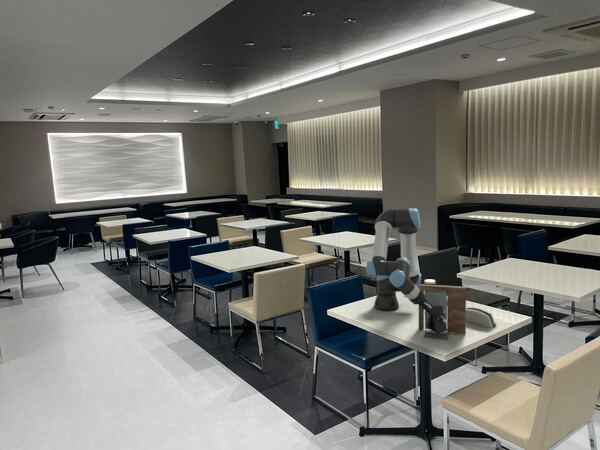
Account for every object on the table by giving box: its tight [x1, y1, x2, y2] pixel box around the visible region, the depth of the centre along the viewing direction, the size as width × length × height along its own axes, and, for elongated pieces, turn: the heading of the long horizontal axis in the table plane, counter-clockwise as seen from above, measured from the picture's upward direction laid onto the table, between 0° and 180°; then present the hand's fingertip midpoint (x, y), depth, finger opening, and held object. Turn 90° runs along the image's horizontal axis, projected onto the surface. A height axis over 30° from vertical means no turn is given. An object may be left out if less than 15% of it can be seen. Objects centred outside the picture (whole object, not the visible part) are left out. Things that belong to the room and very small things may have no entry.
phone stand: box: [426, 306, 447, 333], centre depth 228 cm, size 9×6×12 cm, turn 25°
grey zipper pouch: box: [466, 306, 498, 329], centre depth 245 cm, size 17×5×10 cm, turn 36°
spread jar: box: [423, 278, 437, 299], centre depth 292 cm, size 12×11×12 cm
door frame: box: [418, 283, 467, 335], centre depth 234 cm, size 2×24×24 cm, turn 70°
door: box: [424, 290, 447, 330], centre depth 234 cm, size 11×3×21 cm, turn 70°
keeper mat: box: [423, 330, 450, 341], centre depth 229 cm, size 9×12×1 cm
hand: (443, 322), depth 229 cm, fingers closed on phone stand, 3 cm apart
